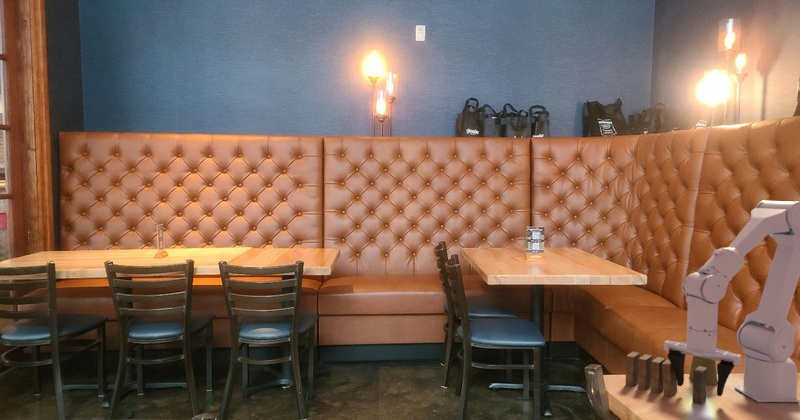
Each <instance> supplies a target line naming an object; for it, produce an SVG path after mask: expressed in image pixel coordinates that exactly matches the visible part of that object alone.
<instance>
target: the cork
mask: <svg viewBox="0 0 800 420" xmlns="http://www.w3.org/2000/svg"><path fill="white" fill-rule="evenodd" d="M699 366H701V367H706V368H707V386H716V385H717V384H718V371H717V364H716V360H712V359H707V358H702V357H698V356H693V355H692V361H691V366H690V369H689V370H690V371H689V376H688V380H689V381H691V382H693V373H694V370H695V369H696V368H697V367H699Z"/></svg>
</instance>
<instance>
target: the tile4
mask: <svg viewBox="0 0 800 420" xmlns="http://www.w3.org/2000/svg"><path fill="white" fill-rule="evenodd" d="M652 361H653V355H650V354H647V353H645V354H643V355H642V356H640V358H639V366H638V383H637V388H638V389H640V390H644V391H646V390H647V389H648V388H650V387H651V363H652Z"/></svg>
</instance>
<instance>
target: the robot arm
mask: <svg viewBox="0 0 800 420" xmlns="http://www.w3.org/2000/svg"><path fill="white" fill-rule="evenodd" d="M767 236H769V237H771V238H772V239H773V240H774V241H775V244H776V249H775V252H774V256H773V257H772V258H773V259H772V262H771V265H770V268H769V273H768V275H767V278H766V281H765V284H764V288H763V291H762V294H761V298H760V301H759V304H758V307H757V310H755V311H752V312H750V313H749V314H746V316H745V318H744V321H743V323H742V324H741V325H740V327H739V328H737V332H736V341H737V343H738V345H739V346H740V347H741V349H742V350H741V351H742V352H743V353H744V369H743V385H735V386H734V390H737V392H740V393H741V394H743V395H746V396H747V397H749V398H750V399H752V400H754V401H756V402H758V403H799V402H800V399H799V398H798V397H797V396H798V373H799V372H798V368H797V365H796V364H795V362H794V361H793V360H792V359H791V356H792V355H793V354H794V351H795V348H796V346H795V335H796V332H797V330H796V329H795V327H794V326H793V325H792V324H791V323H790V322H789V320H788V319H787V318H788V315H789V311H790V308H791V304H792V302H793V297H794V295H795V293H796V292H795V291H796V288H797V286H798V282H799V279H800V200H799V201H787V200H785V201H784V200H783V201H781V200H770V199H764V200H761V201H759V202H758V203H757V204H756V205H755V208H752V210H750V219H749V221H748V222H747V223H746V224H745V225H744V227H743V228H742V229H741V231H739V233H738V234H737V236H736V237H735V238H734V240H732V242H731V243H730V244H729V246H728V247H720V248H718V249H715V250H714V252H713V251H712V256H711V257H710V258H709V259H708V260H707V261H706V262H705V263H704V264H703V265H702V266H701V267H700V268H699V269H698V271H696V272H692V273H691V272H690V274H688V275H687V276H686V277H685V279H684V280H683V283H682V284H681V290H682V292H683V294H684V295H685V303H686V304H687V310H686V312H687V317H686V342H681V341H671V340H665V341H664V342H663V351H666V352H668V354H667V359H669V361H670V362H671V364H672V367H673V369H674V372H675V375H676V379H677V387H682V386H683V385H684V383H685V361H686V355H689V356H692V357H693V356H698V357H702V358H707V359H712V360H715V361H717V362H718V363H717V364H716V372H717V381H718V384H717V386H716V396H718V397H722V396H723V394H724V389H725V386H726V383H727V380H728V379H729V376H730V374H731V373H732V371H733V369H734V367H735V366H736V367H739V366H740V365H741V364H742V354H739V353H734V352H730V351H726V350H723V349H720V348H717V347H718V316H719V302H720V301H721V300H722V299H725V296H726V293H727V288H728V286H729V283H730V281H731V280H732V279H733V278H734V277H735V276H736V275H737V273H739V271H740V270H741V269H742V268H743V267H744V266H745V259H744V257H745V256H746V255H747V254H749V253H750V252H751V251H752V249H754V248H755V247H756V246H757V245H758V244H759V243H760V242H761V241H762V240H763V239H765V238H766V237H767ZM767 326H769V327H767ZM770 327H772V328H770Z"/></svg>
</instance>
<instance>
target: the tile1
mask: <svg viewBox="0 0 800 420" xmlns="http://www.w3.org/2000/svg"><path fill="white" fill-rule="evenodd" d="M707 386H708V385H707V368H706V367H701V366H699V367H697V368H696V369H695V370H694V373H693V381H692V404H696V405H702V404H703V403H704V402H705V401H706V400H707Z"/></svg>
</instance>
